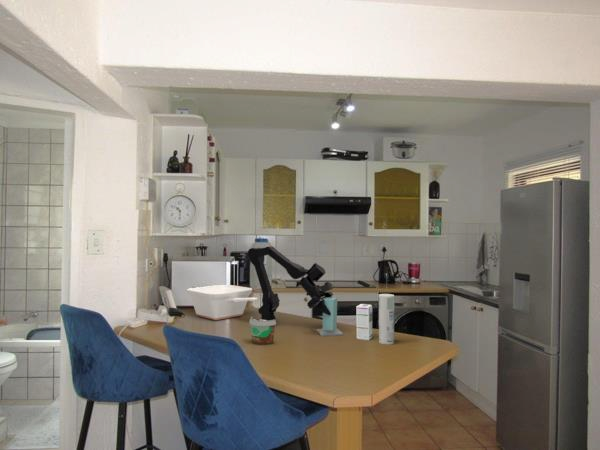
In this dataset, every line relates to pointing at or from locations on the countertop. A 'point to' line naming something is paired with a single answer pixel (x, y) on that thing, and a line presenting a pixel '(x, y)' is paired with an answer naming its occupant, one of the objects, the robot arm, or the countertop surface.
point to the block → (330, 320)
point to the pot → (220, 301)
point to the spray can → (386, 318)
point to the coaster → (329, 332)
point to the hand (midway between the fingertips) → (332, 313)
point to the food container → (262, 331)
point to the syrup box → (364, 321)
